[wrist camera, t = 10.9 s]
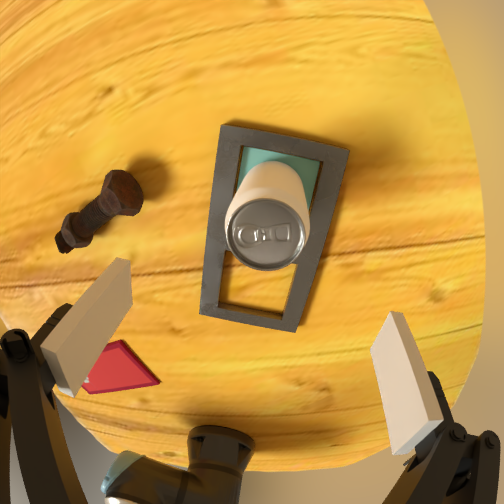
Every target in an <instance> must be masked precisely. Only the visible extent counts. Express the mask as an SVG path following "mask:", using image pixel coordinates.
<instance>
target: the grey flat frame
mask: <svg viewBox="0 0 504 504" xmlns="http://www.w3.org/2000/svg"><path fill="white" fill-rule="evenodd" d="M242 145H244V146H250V147H255V148H261V149H266V150H272V151H277V152H282V153H287V154H291V155H296V156H301V157H305V158H310V159H314V160H319V161H322V166H321V170H320V174H319V178H318V182H317V187H316V191H315V195H314V199H313V203H312V207H311V211H310V215H309V221H310V231H309V236H308V240H307V242H306V244H305V246H304V248H303V250H302V252H301V254H300V255H299V256H298V258H297V259H296V260H295V261H294V262H292V263H293V264H296V268H295V271H294V275H293V278H292V282H291V285H290V289H289V293H288V296H287V299H286V303H285V306H284V310H283V313H282V314H277V313H272V312H266V311H261V310H256V309H251V308H246V307H241V306H236V305H231V304H226V303H221V302H219V296H220V289H221V281H222V274H223V266H224V259H225V252H226V250H227V251H231V250H230V248H229V246H228V243H227V238H226V232H225V218H226V214H227V211H228V208H229V206H230V204H231V202H232V200H233V198H234V191H235V185H236V178H237V172H238V166H239V159H240V153H241V147H242ZM348 155H349V150H348V149H345V148H341V147H338V146H334V145H330V144H325V143H321V142H317V141H313V140H308V139H304V138H299V137H294V136H290V135H285V134H280V133H274V132H269V131H264V130H258V129H252V128H246V127H240V126H233V125H226V124H222V125H221V128H220V135H219V142H218V149H217V156H216V163H215V170H214V178H213V186H212V193H211V202H210V210H209V218H208V227H207V236H206V246H205V255H204V265H203V276H202V287H201V298H200V310H199V314H202V315H206V316H211V317H215V318H220V319H225V320H229V321H234V322H239V323H244V324H249V325H255V326H260V327H265V328H271V329H276V330H282V331H288V332H293V333H296V330H297V327H298V324H299V321H300V318H301V315H302V312H303V309H304V306H305V303H306V300H307V297H308V294H309V291H310V288H311V285H312V282H313V279H314V276H315V273H316V269H317V266H318V263H319V260H320V257H321V253H322V250H323V247H324V243H325V240H326V237H327V233H328V230H329V226H330V223H331V219H332V216H333V212H334V208H335V205H336V201H337V198H338V194H339V190H340V186H341V182H342V179H343V175H344V171H345V167H346V163H347V159H348Z"/></svg>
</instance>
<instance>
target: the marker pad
mask: <svg viewBox="0 0 504 504" xmlns="http://www.w3.org/2000/svg"><path fill="white" fill-rule="evenodd" d="M266 161H278V162H282V163H285V164H287V165H289V166H290V167H292V168H293V169H294V170H295V171H296V172H297V174H298V175H299V177H300V179H301V181H302V184H303V188H304V193H305V198H306V203H307V208H308V211H309V207H310V202H311V198H312V194H313V190H314V186H315V182H316V178H317V173H318V169H319V165H320V161H316V160H312V159H307V158H303V157H298V156H293V155H289V154H284V153H279V152H274V151H268V150H263V149H258V148H252V147H246V146H244V148H243V155H242V161H241V167H240V173H239V179H238V186H237V190H238V189H239V187H240V185H241V183H242V181H243V179H244V178H245V176H246V175H247V173H248V172H249V171H250V170H251V169H252V168H253V167H254V166H256V165H258V164H260V163H262V162H266Z"/></svg>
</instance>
